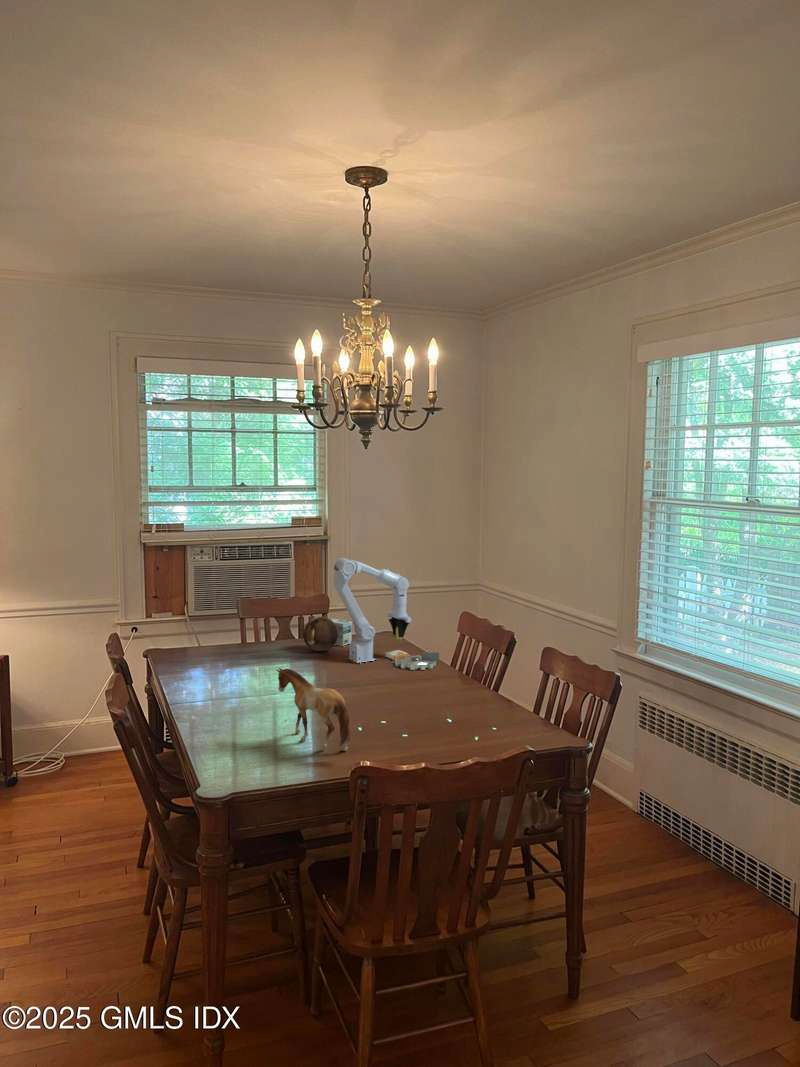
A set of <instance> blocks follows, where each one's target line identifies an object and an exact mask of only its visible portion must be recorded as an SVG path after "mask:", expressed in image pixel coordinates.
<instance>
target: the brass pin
mask: <svg viewBox="0 0 800 1067" xmlns="http://www.w3.org/2000/svg"><path fill="white" fill-rule="evenodd" d="M394 639H395V640H394V641H395V642H403V641H404V637H401V638H400V637H399V635H398V626H396V633H395V637H394Z"/></svg>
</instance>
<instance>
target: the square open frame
mask: <svg viewBox="0 0 800 1067" xmlns="http://www.w3.org/2000/svg"><path fill="white" fill-rule="evenodd" d="M406 655H410V654H409V653H408V652H405V651H402V650H400V649H398V650H392V651H391V650H390V651H386V652H385V658H386V657H388V658H387V659H389V658H391V659H393V660H392V661H394V660H395V659H396V658H399V656H404V657H405V656H406ZM391 659H390V660H391Z"/></svg>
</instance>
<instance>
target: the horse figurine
mask: <svg viewBox="0 0 800 1067" xmlns="http://www.w3.org/2000/svg"><path fill="white" fill-rule="evenodd" d="M275 670H276V671H277V672H278V677H277V679H278V687H277V689H278V691H279V692H280V693H283V692H284V691H285V689H286V687H287V686H288V685H289V684H291V686H292V688H293V691H294V692H295V693H294V698H293V700H294V704H295V706H296V707H297V709H298V712H299V713H298V714H297V719H296V723H295V735H296V734H299V733H300V732H301V728H300V722H301V719H302V725H303V729H304V732H303V736H301V738H300V739H299V742H300V743H305V742H306V741H307V737H308V736H309V734H308V733H309V732H308V717H307V715H308V714H307V711H308V710H309V711H313V712H317V713H318V715H319V716H320V717H321V719H322V721H323V723H324V724H325V725H326V726H327V732H326V735H325V736H324V737H323V739H322V744H321V750H323V751H324V750H325V749H326V748H327V747H328V746H327V742H328V741H329V738H330V736H331V734H332V733H333V732H334V730H335V728H336V727H335V725H334V724H333V723H332V720H331V719H330V718H331V716H333V715H335V716H337V720H338V722H339V734H340V742H339V743H340V744H339V747H341V748H340V751H341V752H347V750H348V745H349V742H350V737H351V730H350V728H351V726H350V716H349V711H348V709H347V707H346V700H345V699H344V697H343V695H342V694H340V692H338V691H337V690H335V689H333V688H330V687H329V688H319V687H316V686H314V685H313V684H311V683H310V682H309V681H308V680H307V679H306V678H304V677H303V675H301V674H300V673H299V672H297V671H295V670H293V669H290V668H285V669H284V668H283V669H282V668H281V667H280V668H278V669H277V668H276V669H275Z"/></svg>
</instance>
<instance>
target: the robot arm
mask: <svg viewBox="0 0 800 1067" xmlns="http://www.w3.org/2000/svg"><path fill="white" fill-rule="evenodd" d="M358 573H364V574H366V575H370V576H371V577H375V578H376V579H377V580H376V581H377V582H379V583H381V584H384V585H386V586H387V587H391V588H393V593H392V611H388V612H387V617H389V619H388V622H389V623H390V626H391V629H392V634H393V636H395V633H396V626H398V635H399V637H400V638H401V637H403V638H404V636H405V634H406V631H407V628H408V626H409V624H410V623H412V617H410V616H409V613H407V595H408V594H407V593H408V592H407V590H408V589H409V588H410V583H409V579H407V578H406V577H404V576H402V575H400V574H399V573H398V572H396V573H394V572H392V571H390V569H389V568H382V569H380V570H379V569H376V568H374V567H372V566H370V565H367V564H365V563H363V562H360V561H359V560H358V561H357V560H353V559H350V558H349V559H347V558H346V557H340V558H338V559H337V560H336V561H335V564H334V566H333V586H334V588H335V590H336V592H337V594H338V595H339V597H340V599H341V601H342V603H343V605H344V606H345V610H347V613H348V615H349V616H350V618H351V620H352V624H353V626H354V633H355V634H356V637H355V639H354V640H352V642H351V643H350V645H349V653H348V655H349V657H348V659H350V660H353V661H355V662H357V663H359V662H360V664H362V663H361V662H366V663H368V662H367V661H373V662H375V661H374V660H377V661H378V659H377V658H374V637H375V635H376V630H375V628H374V626H372V625H371V624H370V623H369V621H368V620H367V618H366V617H365V615H364V614H363V611H362V610H361V608H360V607H359V604H358V603H357V601H356V599H355V597H354V594H353V593H352V591H351V589H350V587H349V585H348V583H349V581H350V579H351V577H352V576H353V575H354V574H358ZM390 617H391V618H390ZM350 660H349V661H350ZM353 661H352V662H353ZM355 662H354V663H355ZM357 663H356V664H357Z"/></svg>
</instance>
